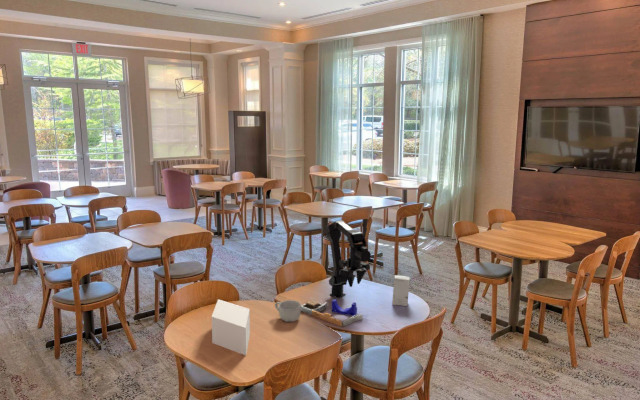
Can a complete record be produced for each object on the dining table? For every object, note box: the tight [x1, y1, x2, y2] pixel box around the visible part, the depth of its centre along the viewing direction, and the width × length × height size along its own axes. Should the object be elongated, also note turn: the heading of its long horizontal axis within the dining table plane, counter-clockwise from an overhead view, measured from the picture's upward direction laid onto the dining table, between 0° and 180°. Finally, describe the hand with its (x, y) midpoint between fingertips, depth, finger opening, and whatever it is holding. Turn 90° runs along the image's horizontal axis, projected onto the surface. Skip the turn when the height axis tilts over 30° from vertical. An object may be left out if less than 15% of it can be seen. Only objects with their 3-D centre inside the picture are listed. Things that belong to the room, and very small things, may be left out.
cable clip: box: [331, 298, 358, 317], centre depth 243 cm, size 12×4×6 cm, turn 68°
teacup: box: [274, 299, 302, 323], centre depth 234 cm, size 14×11×8 cm
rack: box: [301, 300, 363, 328], centre depth 239 cm, size 14×30×4 cm, turn 48°
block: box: [211, 299, 251, 356], centre depth 212 cm, size 18×35×12 cm, turn 30°
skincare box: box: [392, 274, 411, 307], centre depth 254 cm, size 8×6×15 cm
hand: (354, 285), depth 248 cm, fingers open, 6 cm apart
